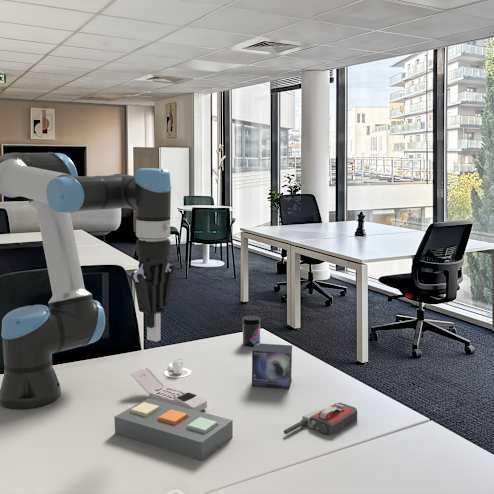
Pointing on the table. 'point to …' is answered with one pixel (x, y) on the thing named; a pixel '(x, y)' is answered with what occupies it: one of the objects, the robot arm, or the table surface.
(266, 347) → the small box
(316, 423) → the walkie-talkie
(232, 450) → the table surface
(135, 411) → the sand button
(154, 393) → the mobile phone
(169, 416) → the orange button
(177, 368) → the white candle holder
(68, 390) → the table surface
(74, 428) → the table surface
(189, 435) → the button console
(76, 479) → the table surface
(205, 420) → the sage button
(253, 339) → the supplement container
